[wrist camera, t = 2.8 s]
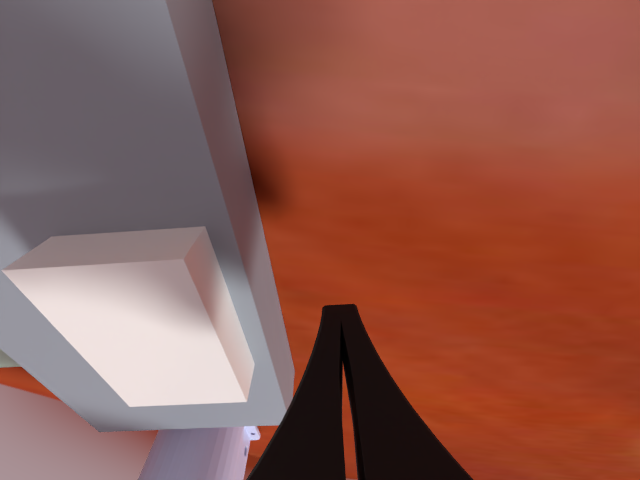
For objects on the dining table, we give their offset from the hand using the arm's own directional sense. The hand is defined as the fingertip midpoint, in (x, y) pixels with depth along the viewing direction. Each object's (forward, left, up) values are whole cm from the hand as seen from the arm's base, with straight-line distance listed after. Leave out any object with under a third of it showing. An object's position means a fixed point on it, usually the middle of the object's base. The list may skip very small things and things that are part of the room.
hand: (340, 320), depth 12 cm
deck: (0, +11, -5) cm, 12 cm away
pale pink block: (0, +8, -1) cm, 8 cm away
